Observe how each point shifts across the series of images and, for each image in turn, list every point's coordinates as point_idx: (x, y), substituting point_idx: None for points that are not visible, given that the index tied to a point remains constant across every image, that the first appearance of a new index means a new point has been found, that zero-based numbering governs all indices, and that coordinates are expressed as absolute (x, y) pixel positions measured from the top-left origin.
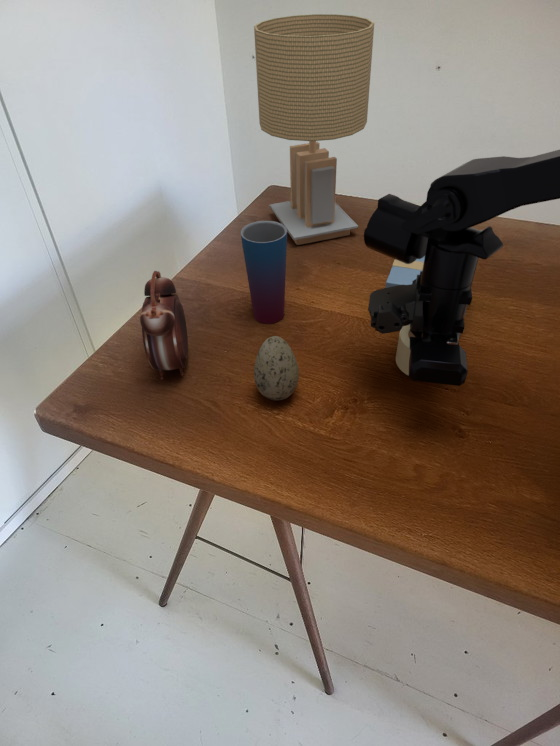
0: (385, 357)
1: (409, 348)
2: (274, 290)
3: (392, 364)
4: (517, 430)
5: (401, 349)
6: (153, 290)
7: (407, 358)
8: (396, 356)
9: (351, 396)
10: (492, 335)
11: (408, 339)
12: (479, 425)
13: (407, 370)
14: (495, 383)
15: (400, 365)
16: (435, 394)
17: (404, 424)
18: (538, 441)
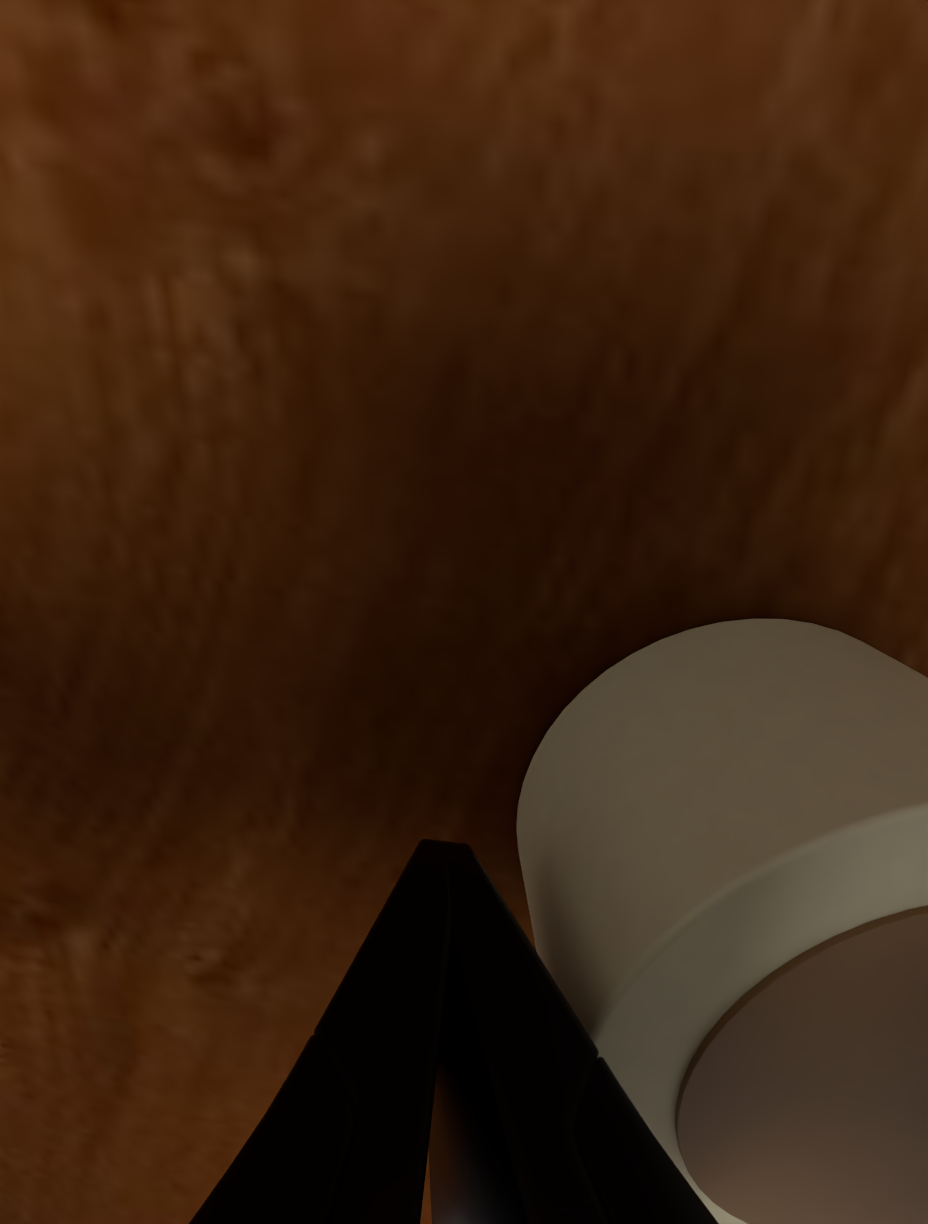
0: (837, 536)
1: (734, 879)
2: None
3: (735, 585)
4: (115, 1155)
5: (806, 738)
6: None
7: (668, 765)
8: (799, 637)
9: (307, 96)
10: None
11: (924, 892)
12: (115, 1018)
13: (604, 704)
14: None
15: (679, 655)
16: (373, 839)
17: (13, 590)
18: (56, 1210)
